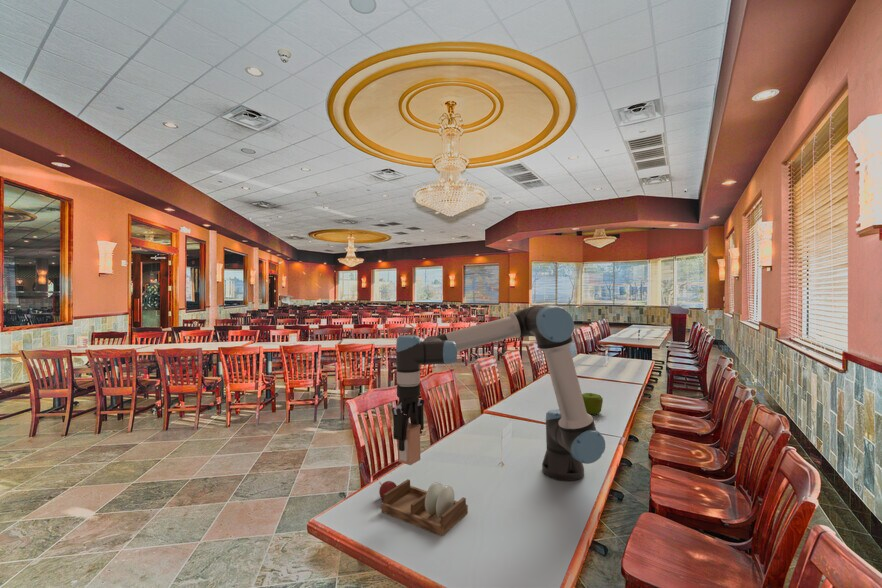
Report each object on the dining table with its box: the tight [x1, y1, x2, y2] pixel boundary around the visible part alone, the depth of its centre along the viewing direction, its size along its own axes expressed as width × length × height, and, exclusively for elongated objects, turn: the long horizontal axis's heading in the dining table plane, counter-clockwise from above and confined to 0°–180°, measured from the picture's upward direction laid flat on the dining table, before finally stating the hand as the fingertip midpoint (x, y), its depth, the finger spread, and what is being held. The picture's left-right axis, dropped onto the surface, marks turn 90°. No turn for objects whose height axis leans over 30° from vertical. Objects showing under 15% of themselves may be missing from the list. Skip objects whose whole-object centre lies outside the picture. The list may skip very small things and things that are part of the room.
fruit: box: [376, 478, 398, 501], centre depth 130 cm, size 6×6×8 cm
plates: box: [425, 481, 455, 518], centre depth 117 cm, size 5×9×9 cm, turn 145°
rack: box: [381, 478, 469, 537], centre depth 120 cm, size 23×14×5 cm, turn 55°
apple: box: [582, 392, 604, 416], centre depth 218 cm, size 12×12×11 cm
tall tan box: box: [397, 422, 421, 466], centre depth 123 cm, size 5×5×11 cm
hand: (409, 456), depth 123 cm, fingers closed on tall tan box, 5 cm apart
